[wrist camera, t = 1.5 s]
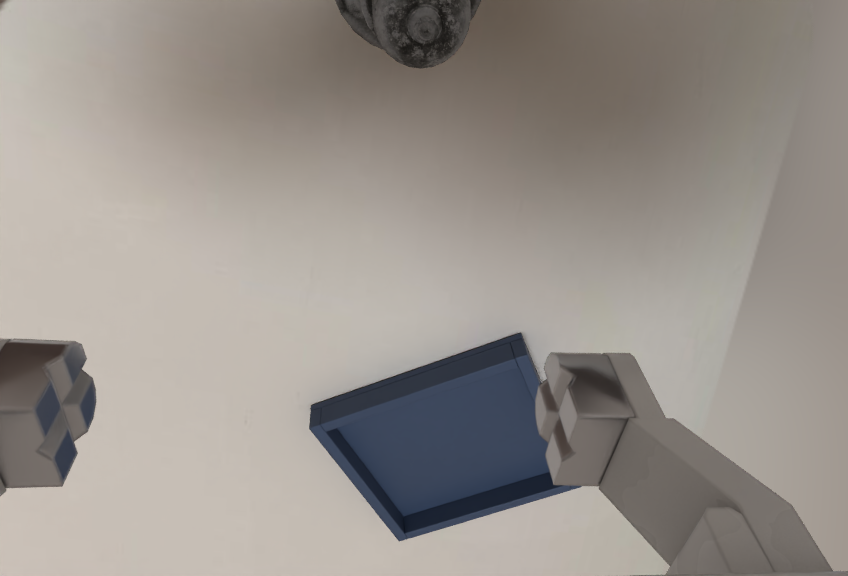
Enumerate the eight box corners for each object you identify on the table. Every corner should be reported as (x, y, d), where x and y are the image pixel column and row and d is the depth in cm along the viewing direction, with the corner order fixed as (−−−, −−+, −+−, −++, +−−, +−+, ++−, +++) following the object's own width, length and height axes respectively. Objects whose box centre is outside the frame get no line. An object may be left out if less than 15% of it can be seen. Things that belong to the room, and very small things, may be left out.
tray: (520, 332, 39) (527, 354, 37) (574, 464, 47) (582, 487, 46) (310, 405, 41) (308, 428, 40) (397, 518, 50) (398, 541, 48)
